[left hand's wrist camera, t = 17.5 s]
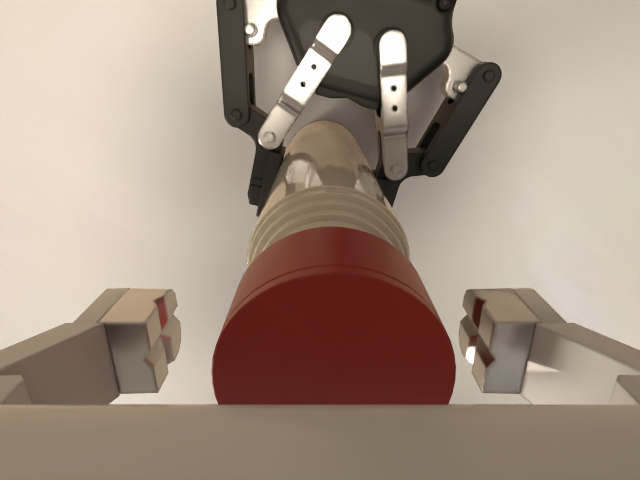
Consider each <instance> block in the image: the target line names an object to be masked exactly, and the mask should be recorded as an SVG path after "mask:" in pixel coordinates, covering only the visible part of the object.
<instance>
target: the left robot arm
mask: <svg viewBox="0 0 640 480" xmlns="http://www.w3.org/2000/svg"><path fill="white" fill-rule="evenodd" d="M176 307H177V300H176V295H175V293H174V291H173V290H172V289H133V288H132V289H130V288H112V289H106V290H105V291H104V292H103V293H102V294H101V295H100V296H99V297H98V298H97V299H96V300H95V301H94V302H93V303H92V304H91V305H90V306H89V307H88V308H87V309H86V310H85V311H84V312H83V313H82V314H81V315H80V316H79V317H78V318H77V319H76V320H75V321H74V322H73V323H65V324H63V325H60V326H58V327H55V328H53V329H51V330H48V331H46V332H43V333H41V334H39V335H36V336H34V337H31V338H29V339H27V340H24V341H22V342H19V343H17V344H15V345H12V346H10V347H7V348H5V349H2V350H0V480H640V350H637V349H635V348H633V347H630V346H628V345H625V344H623V343H621V342H618V341H616V340H613V339H611V338H609V337H606V336H604V335H601V334H599V333H597V332H594V331H592V330H589V329H587V328H585V327H582V326H580V325H577V324H575V323H567V322H566V321H565V320H564V319H563V318H562V317H561V316H560V315H559V314H558V313H557V312H556V311H555V310H554V309H553V308H552V307H551V306H550V305H549V304H548V303H547V302H546V301H545V300H544V299H543V298H542V297H541V296H540V295H539V294H538V293H537V292H536V291H535V290H534V289H531V288H516V289H511V288H503V289H470V290H466V293H465V295H464V300H463V307H464V309H465V311H466V312H467V315H466V316H465V317H464V318H463V319H462V320H461V321H460V328H459V342H460V348H461V352H462V354H463V356H464V358H465V360H466V361H468V362H469V363H471V364H472V365H473V367H472V374H473V376H474V378H475V380H476V382H477V384H478V386H479V388H480V390H481V392H482V393H510V394H520V396H522V397H523V398H524V399H526V400H527V401H528V402H529V403H531V404H532V405H108V404H109V403H111V402H112V401H113V400H115V399H116V398H117V397H118V396H119V394H130V393H158V392H159V390H160V388H161V386H162V384H163V382H164V380H165V378H166V376H167V374H168V367H167V365H168V364H169V363H171V362H172V361H174V360H175V358H176V356H177V354H178V352H179V347H180V342H181V327H180V321H179V320H178V319H177V318H176V317H175V316H174V315H173V312H174V311H175V309H176Z"/></svg>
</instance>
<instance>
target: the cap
mask: <svg viewBox="0 0 640 480" xmlns="http://www.w3.org/2000/svg"><path fill="white" fill-rule="evenodd" d="M211 371H212V384H213V389H214V393H215V397H216V400H217V402H218V405H448V404H449V401H450V398H451V396H452V393H453V388H454V383H455V373H456V364H455V356H454V351H453V348H452V344H451V341H450V339H449V336H448V334H447V332H446V330H445V328H444V326H443V324H442V322H441V320H440V318H439V316H438V314H437V312H436V310H435V308H434V305H433V303H432V301H431V299H430V297H429V295H428V293H427V291H426V289H425V287H424V285H423V283H422V281H421V279H420V277H419V275H418V273H417V271H416V270H415V268H414V267H413V265H412V264H411V262H410V261H409V260H408V259H407V258H406V257H405V256H404V255H403V254H402V253H401V252H400V251H399V250H398V249H396V248H395V247H394V246H393V245H391V244H390V243H388V242H386V241H385V240H383V239H381V238H379V237H377V236H375V235H372V234H370V233H367V232H364V231H360V230H357V229H351V228H346V227H317V228H312V229H307V230H302V231H299V232H296V233H293V234H290V235H288V236H286V237H284V238H282V239H280V240H278V241H276V242H275V243H273V244H272V245H270V246H269V247H267V248H266V249H265V250H264V251H263V252H262V253H261V254H259V255H258V256H257V257H256V259H255V260H254V261H253V262H252V263H251V264H250V266H249V267H248V269H247V270H246V272H245V273H244V275H243V277H242V279H241V282H240V284H239V286H238V289H237V291H236V294H235V296H234V299H233V302H232V304H231V307H230V310H229V312H228V315H227V317H226V320H225V323H224V325H223V328H222V331H221V333H220V336H219V338H218V341H217V344H216V347H215V351H214V355H213V360H212V370H211Z"/></svg>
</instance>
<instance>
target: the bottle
mask: <svg viewBox="0 0 640 480" xmlns="http://www.w3.org/2000/svg"><path fill="white" fill-rule="evenodd" d="M317 227H346V228H351V229H357V230H360V231H364V232H367V233H370V234H372V235H375V236H377V237H379V238H381V239H383V240H385V241H386V242H388V243H390V244H391V245H393V246H394V247H395V248H396V249H398V250H399V251H400V252H401V253H402V254H403V255H404V256H405V257H406V258H407V259H408V260H409V261H410V254H409V246H408V242H407V238H406V235H405V233H404V230H403V228H402V226H401V224H400V222H399V220H398V219H397V217H396V215H395V213H394V211H393V209H392V207H391V205H390V203H389V202H388V200H387V198H386V196H385V194H384V192H383V190H382V188H381V186H380V185H379V183H378V181H377V179H376V177H375V175H374V173H373V171H372V169H371V168H370V166H369V164H368V162H367V160H366V158H365V156H364V154H363V152H362V151H361V149H360V147H359V145H358V143H357V141H356V139H355V138H354V136H353V135H352V134H351V132H350V131H349V130H348V129H346V128H345V127H344V126H342V125H340V124H338V123H335V122H332V121H316V122H312V123H310V124H308V125H306V126H304V127H303V128H301V129H300V130H299V131H298V132H297V133H296V134H295V136H294V137H293V139H292V140H291V143H290V145H289V147H288V150H287V152H286V154H285V157H284V159H283V161H282V164H281V166H280V169H279V171H278V173H277V176H276V178H275V181H274V183H273V185H272V188H271V190H270V192H269V195H268V197H267V200H266V202H265V204H264V207H263V209H262V212H261V214H260V216H259V219H258V221H257V223H256V226H255V228H254V231H253V233H252V236H251V239H250V242H249V246H248V252H247V266H248V267H249V266H250V264H251V263H252V262H253V261H254V260H255V259H256V257H257V256H258V255H259V254H261V253H262V252H263V251H264V250H265V249H266V248H267V247H269V246H270V245H272V244H273V243H275V242H276V241H278V240H280V239H282V238H284V237H286V236H288V235H290V234H293V233H296V232H299V231H302V230H307V229H312V228H317Z"/></svg>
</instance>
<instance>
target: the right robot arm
mask: <svg viewBox="0 0 640 480" xmlns="http://www.w3.org/2000/svg"><path fill="white" fill-rule="evenodd" d="M456 1H457V0H216V4H217V19H218V33H219V47H220V61H221V76H222V90H223V104H224V116H225V120H226V121H227V123H228V124H229V125H231V126H233V127H236V128H239V129H240V130H242V131H243V132H245V133H247V134H248V135H249V136H251V137H252V139H253V140H254V142H255V145H256V154H255V159H254V164H253V169H252V174H251V180H250V185H249V190H248V198H249V203H250V204H252V205H257V206H258V210H257V216H258V217H259V216H260V214H261V212H262V209H263V207H264V204H265V202H266V200H267V197H268V195H269V192H270V190H271V188H272V185H273V183H274V181H275V178H276V176H277V173H278V171H279V169H280V166H281V164H282V161H283V158H284V154H285V149H286V147H283V141H284V138H285V136H286V134H287V133H288V131H289V130H290V128H291V127H292V125H293V124H294V122H295V120H296V119H297V117H298V116H299V114H300V113H301V111H302V110H303V108H304V107H305V105H306V104H307V102H308V100H309V99H310V97H311V96H312V94H313V93H314V92H315V93H316V94H317V95H321V96H325V97H329V98H349V99H351V100H353V101H354V102H356V103H358V104H359V105H361V106H363V107H367V108H370V109H374V118H375V127H376V133H377V149H378V163H377V167H376V170H374V169H372V171H373V173H374V175H375V177H376V179H377V181H378V183H379V185H380V186H381V188H382V190H383V192H384V194H385V196H386V198H387V200H388V202H389V203H390V205H391V207H392V206H393V203H394V200H395V197H396V194H397V191H398V188H399V185H400V183H401V182H402V181H403V180H404V179H406V178H408V177H411V176H419V175H426V176H428V177H436V176H438V175H440V174H441V173H442V172H443V170H444V169H445V167H446V166H447V164H448V162H449V161H450V159H451V158H452V156H453V154H454V153H455V151H456V150H457V148H458V147H459V145H460V143H461V142H462V140H463V139H464V137H465V135H466V134H467V132H468V131H469V129H470V128H471V126H472V124H473V123H474V121H475V120H476V118H477V116H478V115H479V113H480V112H481V110H482V109H483V107H484V105H485V104H486V102H487V101H488V99H489V97H490V96H491V94H492V93H493V91H494V89H495V88H496V86H497V85H498V83H499V81H500V79H501V69H500V67H499V66H498V65H497V64H496V63H492V62H481V61H479V60H477V59H475V58H474V57H472V56H471V55H469V54H467V53H466V52H464V51H462V50H461V49H459V48H457V47H456V46H454V45H453V43H454V35H453V29H452V16H453V10H454V7H455V4H456ZM276 20H279V21H280V23H281V26H282V28H283V31H284V34H285V36H286V39H287V41H288V44H289V46H290V49H291V52H292V54H293V57H294V59H295V62H296V64H297V67H298V68H297V70H296V71H295V73H294V74H293V76H292V78H291V79H290V81H289V82H288V84H287V86H286V87H285V89H284V91H283V92H282V94H281V96H280V97H279V99H278V101H277V103H276V105H275V106H274V108H273V109H272V111H271V113H270V114H269V115H268V114H267V113H265V112H264V111H262V110H261V109H259V108H258V107H256V100H255V77H254V53H253V46H257V45H260V44H262V43H263V42H264V40H265V39H266V35H267V29H268V27H269V25H270V24H271V23H272V22H273V21H276ZM439 66H441V67H442V69H443V72H444V78H443V81H442V83H441V92H442V94H443V95H444V96H445V97H446V98H445V99H444V101H443V103H442V104H441V106H440V108H439V110H438V111H437V113H436V115H435V116H434V118H433V120H432V121H431V123H430V125H429V126H428V128H427V130H426V131H425V133H424V135H423V136H422V138H421V140H420V141H419V143H418V145H417V147H416V148H409V149H407V132H408V102H407V93H408V92H409V91H410V90H411V89H413V88H414V87H415V86H416V85H417V84H419V83H420V82H421V81H422V80H423V79H425V78H426V77H427V76H428V75H429V74H431V73H432V72H433V71H434V70H435V69H437V68H438V67H439ZM303 81H304V82H305V84H306V85H304V84H303Z"/></svg>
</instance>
